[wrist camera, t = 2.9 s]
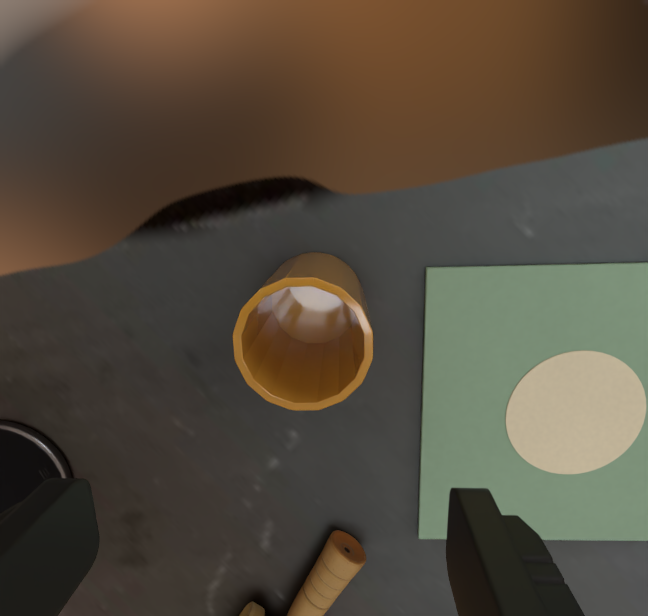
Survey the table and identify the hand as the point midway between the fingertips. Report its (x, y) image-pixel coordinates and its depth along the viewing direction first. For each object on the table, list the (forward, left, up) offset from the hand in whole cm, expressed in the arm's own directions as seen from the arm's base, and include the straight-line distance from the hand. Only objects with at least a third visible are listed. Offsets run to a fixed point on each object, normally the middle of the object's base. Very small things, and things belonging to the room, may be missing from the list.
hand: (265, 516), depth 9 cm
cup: (0, 0, -19) cm, 19 cm away
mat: (+17, -8, -19) cm, 27 cm away
